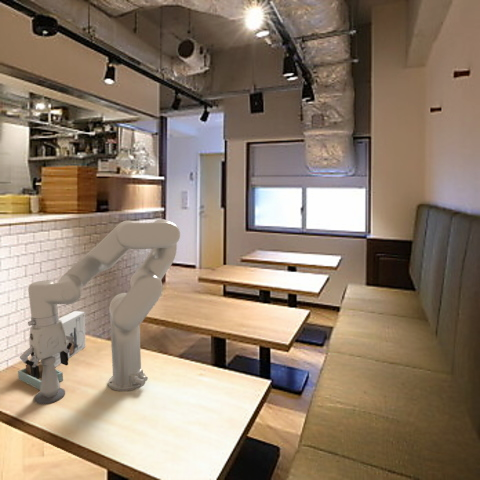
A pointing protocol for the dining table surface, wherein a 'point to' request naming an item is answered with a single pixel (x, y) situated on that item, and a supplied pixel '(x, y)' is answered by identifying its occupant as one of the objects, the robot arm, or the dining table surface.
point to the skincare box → (73, 333)
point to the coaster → (43, 400)
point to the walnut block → (28, 370)
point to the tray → (34, 381)
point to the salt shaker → (49, 378)
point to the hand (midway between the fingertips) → (50, 370)
